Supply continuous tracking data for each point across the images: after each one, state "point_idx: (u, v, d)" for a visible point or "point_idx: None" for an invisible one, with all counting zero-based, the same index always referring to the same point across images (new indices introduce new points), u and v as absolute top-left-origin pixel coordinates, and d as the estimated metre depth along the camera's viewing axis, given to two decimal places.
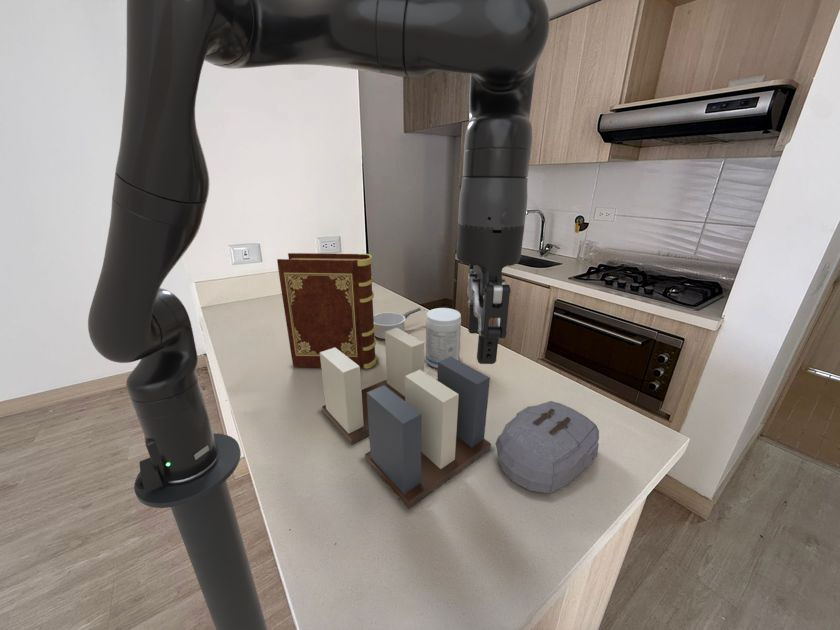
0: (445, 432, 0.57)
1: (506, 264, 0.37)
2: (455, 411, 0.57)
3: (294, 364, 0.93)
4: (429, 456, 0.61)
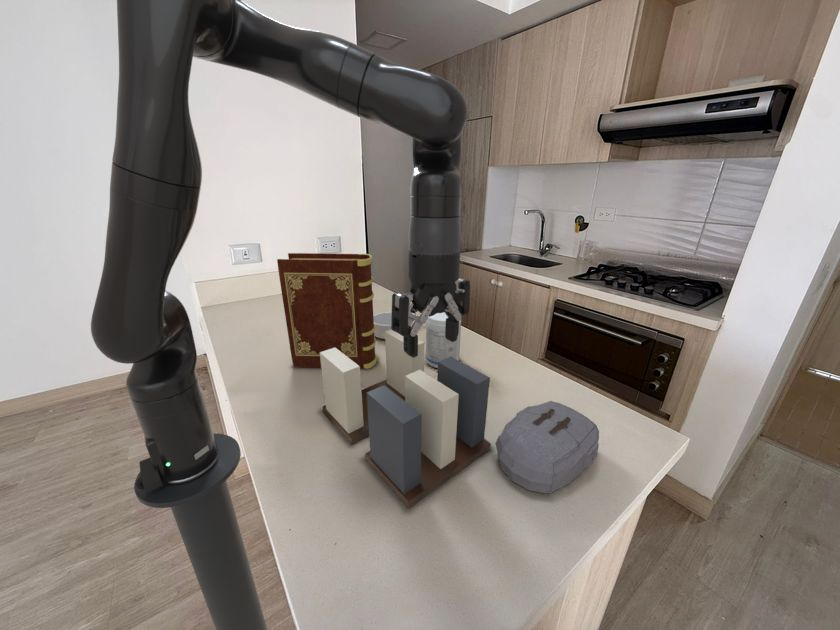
0: (445, 432, 0.57)
1: (422, 282, 0.48)
2: (455, 411, 0.57)
3: (294, 364, 0.93)
4: (429, 456, 0.61)
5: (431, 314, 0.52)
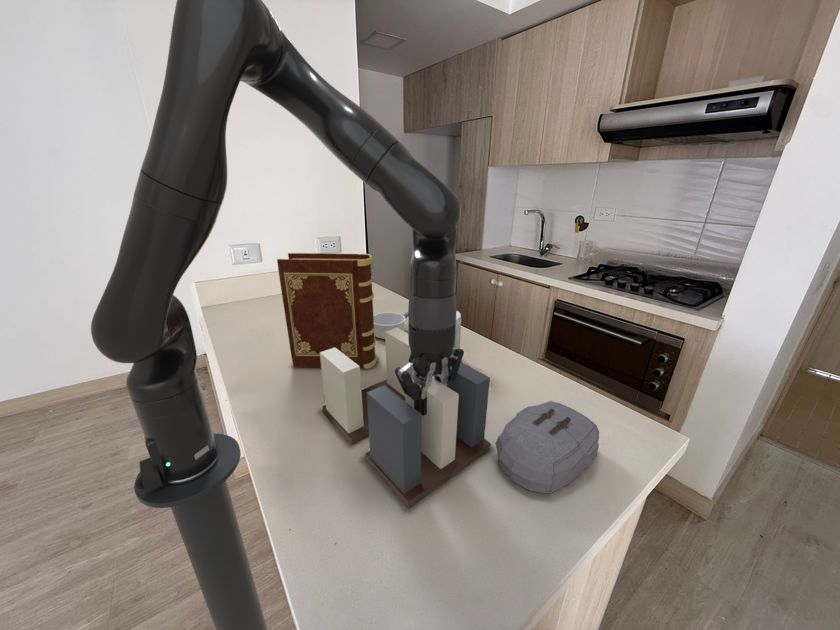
0: (445, 432, 0.57)
1: (420, 352, 0.52)
2: (455, 411, 0.57)
3: (294, 364, 0.93)
4: (429, 456, 0.61)
5: None
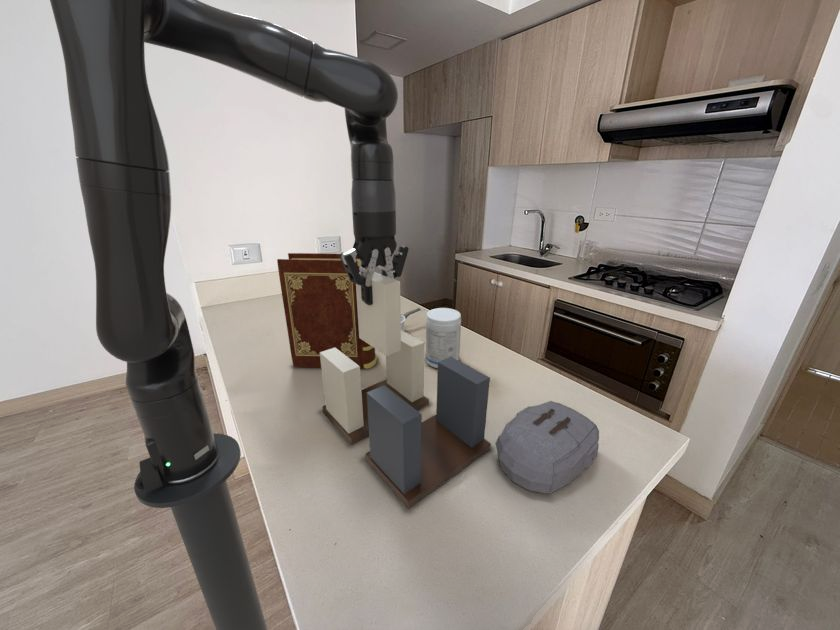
0: (388, 317, 0.62)
1: (362, 236, 0.58)
2: (397, 298, 0.62)
3: (294, 364, 0.93)
4: (377, 347, 0.66)
5: None
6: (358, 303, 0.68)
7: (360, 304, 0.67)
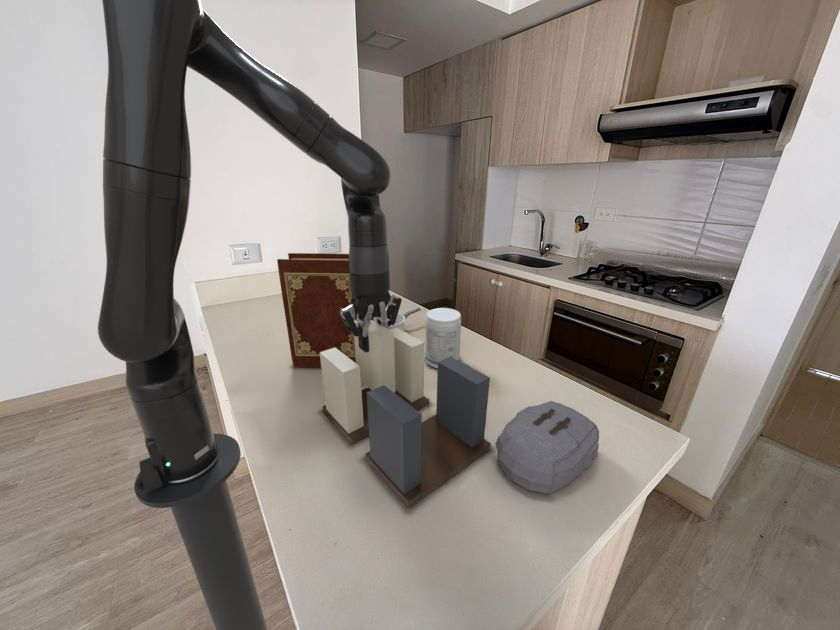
0: (383, 365, 0.68)
1: (358, 294, 0.63)
2: (392, 347, 0.68)
3: (294, 364, 0.93)
4: (373, 389, 0.72)
5: None
6: (355, 347, 0.74)
7: (358, 349, 0.73)
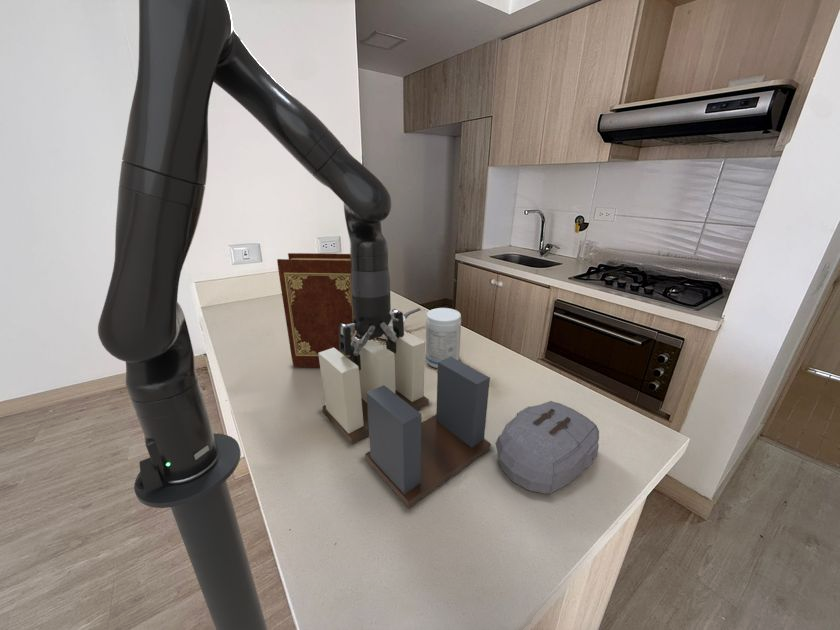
0: None
1: (360, 316, 0.65)
2: (392, 368, 0.70)
3: (294, 364, 0.93)
4: None
5: (370, 338, 0.69)
6: None
7: None
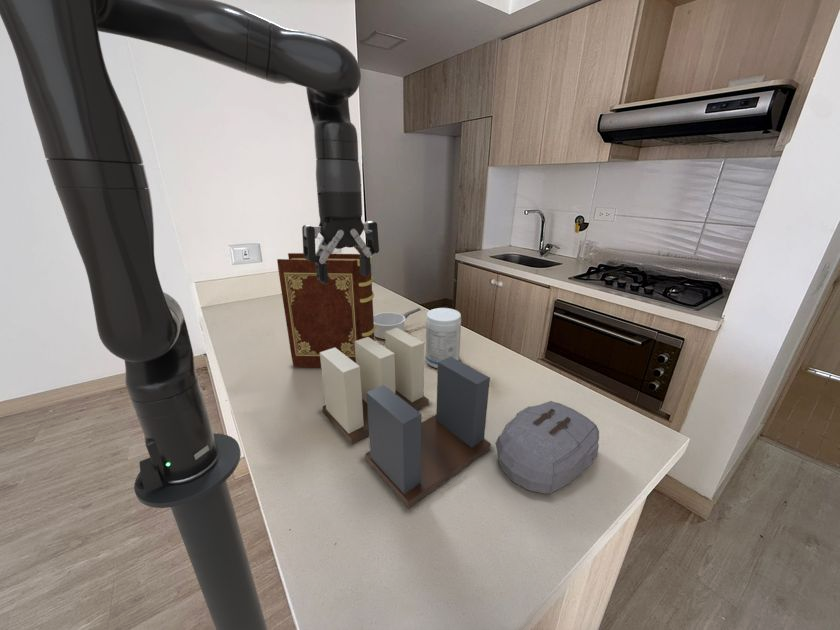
0: None
1: (326, 216, 0.58)
2: (392, 368, 0.70)
3: (294, 364, 0.93)
4: None
5: (339, 247, 0.61)
6: None
7: None
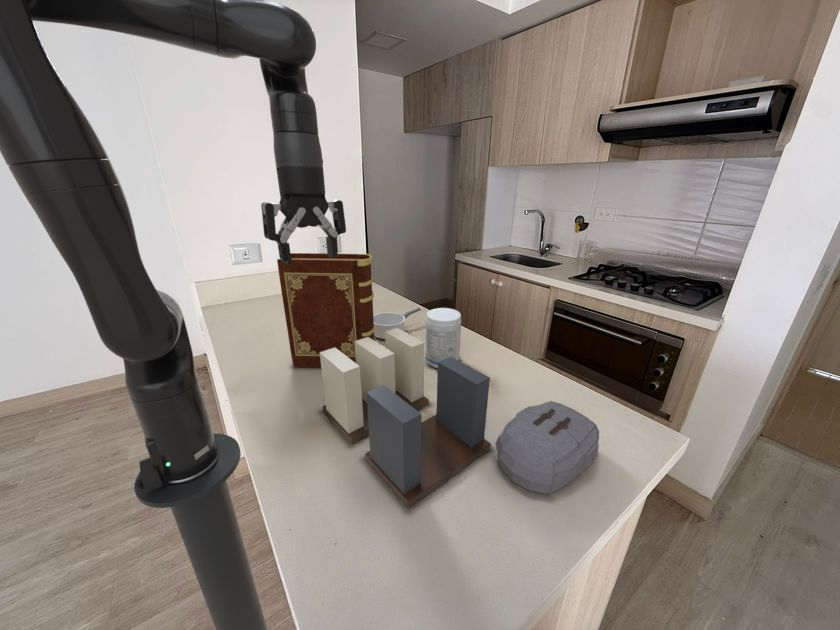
0: None
1: (285, 192, 0.56)
2: (392, 368, 0.70)
3: (294, 364, 0.93)
4: None
5: (302, 226, 0.59)
6: None
7: None
